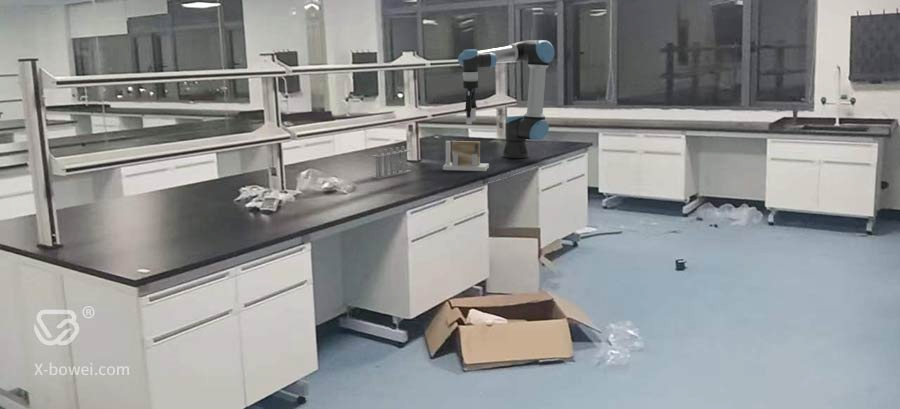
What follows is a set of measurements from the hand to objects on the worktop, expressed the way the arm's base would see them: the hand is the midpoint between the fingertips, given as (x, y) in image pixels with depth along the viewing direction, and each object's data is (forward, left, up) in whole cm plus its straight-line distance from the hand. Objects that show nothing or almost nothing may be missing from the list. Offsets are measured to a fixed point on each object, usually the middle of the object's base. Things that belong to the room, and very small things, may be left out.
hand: (471, 122), depth 388 cm
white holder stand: (+3, -2, -24) cm, 24 cm away
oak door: (+3, -2, -22) cm, 22 cm away
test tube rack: (+27, -35, -24) cm, 50 cm away
